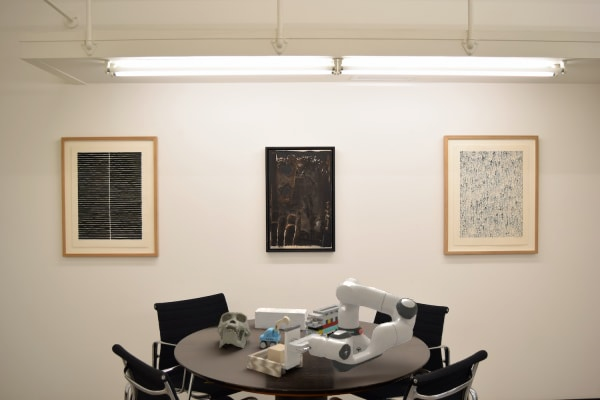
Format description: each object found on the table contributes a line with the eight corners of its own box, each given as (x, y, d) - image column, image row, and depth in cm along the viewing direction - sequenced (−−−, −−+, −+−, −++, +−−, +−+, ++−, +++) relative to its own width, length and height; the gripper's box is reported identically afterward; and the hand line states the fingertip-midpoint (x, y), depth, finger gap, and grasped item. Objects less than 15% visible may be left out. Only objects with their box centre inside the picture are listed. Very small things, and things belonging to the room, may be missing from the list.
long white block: (306, 326, 312) (306, 309, 312) (304, 330, 302) (304, 313, 302) (258, 324, 317) (258, 307, 317) (254, 328, 306) (254, 311, 306)
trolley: (301, 368, 233) (301, 323, 233) (285, 375, 224) (285, 329, 224) (279, 362, 242) (279, 319, 242) (263, 368, 232) (263, 324, 232)
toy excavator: (287, 350, 261) (287, 319, 261) (258, 348, 265) (258, 317, 265) (291, 345, 270) (291, 315, 270) (262, 344, 273) (262, 313, 273)
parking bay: (302, 366, 237) (302, 354, 237) (278, 377, 222) (278, 364, 222) (271, 358, 249) (271, 346, 249) (247, 367, 235) (247, 355, 235)
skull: (217, 354, 278) (210, 340, 254) (223, 318, 289) (216, 302, 265) (249, 356, 277) (245, 343, 253) (254, 320, 288) (250, 305, 264)
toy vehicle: (304, 338, 284) (304, 312, 284) (334, 327, 308) (334, 304, 308) (315, 340, 279) (315, 315, 279) (344, 329, 303) (344, 306, 302)
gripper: (302, 358, 211) (278, 352, 219) (329, 347, 227) (305, 341, 236) (302, 344, 211) (278, 338, 219) (329, 333, 227) (305, 329, 236)
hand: (292, 340), depth 228 cm, fingers closed
